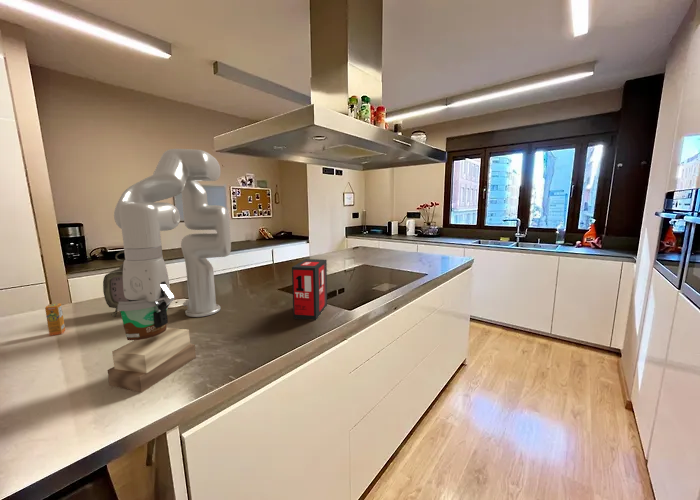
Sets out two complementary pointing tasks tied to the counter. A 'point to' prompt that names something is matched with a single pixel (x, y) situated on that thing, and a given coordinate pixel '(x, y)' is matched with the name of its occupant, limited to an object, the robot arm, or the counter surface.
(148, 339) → the tower top block
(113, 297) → the tabletop clock
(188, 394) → the counter surface
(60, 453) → the counter surface
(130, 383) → the tower base block
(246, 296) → the counter surface
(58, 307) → the supplement box
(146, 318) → the food container
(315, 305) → the cleaning product box
